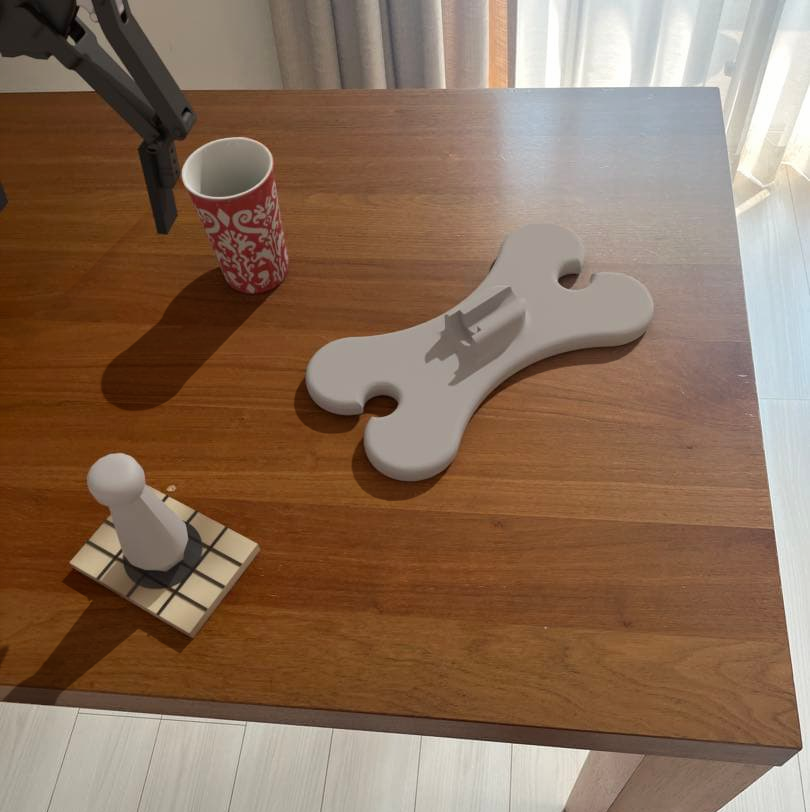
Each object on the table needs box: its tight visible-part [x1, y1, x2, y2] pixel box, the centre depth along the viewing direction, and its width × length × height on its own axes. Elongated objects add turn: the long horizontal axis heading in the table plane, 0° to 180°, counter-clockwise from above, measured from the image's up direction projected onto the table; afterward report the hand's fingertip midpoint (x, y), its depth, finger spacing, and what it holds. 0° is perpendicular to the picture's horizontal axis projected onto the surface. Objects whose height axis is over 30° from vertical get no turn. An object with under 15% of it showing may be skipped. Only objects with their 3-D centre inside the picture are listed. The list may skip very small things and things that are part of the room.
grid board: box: [68, 483, 261, 639], centre depth 80 cm, size 14×10×1 cm
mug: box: [180, 136, 290, 295], centre depth 93 cm, size 13×9×14 cm
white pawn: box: [86, 452, 188, 572], centre depth 74 cm, size 6×6×13 cm
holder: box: [304, 221, 655, 482], centre depth 87 cm, size 19×34×5 cm, turn 127°
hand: (81, 218), depth 68 cm, fingers open, 13 cm apart
